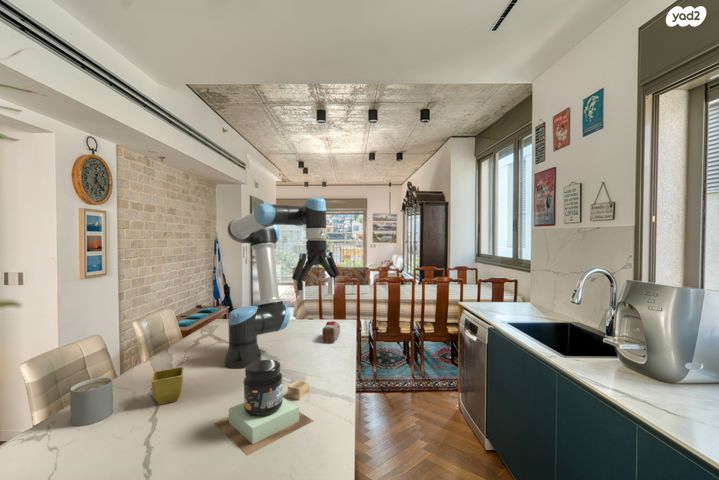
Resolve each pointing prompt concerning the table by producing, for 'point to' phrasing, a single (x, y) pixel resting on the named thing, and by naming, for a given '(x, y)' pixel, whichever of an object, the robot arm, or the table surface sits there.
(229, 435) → the board
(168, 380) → the flower pot
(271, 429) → the pedestal slab
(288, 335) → the table surface
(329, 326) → the food item
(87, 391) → the coffee mug
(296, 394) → the block
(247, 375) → the supplement container
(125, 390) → the table surface
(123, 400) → the table surface
